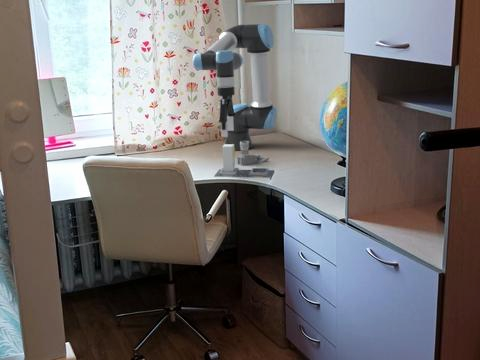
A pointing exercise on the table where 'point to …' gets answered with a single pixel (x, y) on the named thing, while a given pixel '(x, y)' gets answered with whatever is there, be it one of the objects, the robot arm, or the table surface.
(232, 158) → the plug
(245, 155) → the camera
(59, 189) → the table surface
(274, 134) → the table surface
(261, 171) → the panel
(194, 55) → the robot arm
